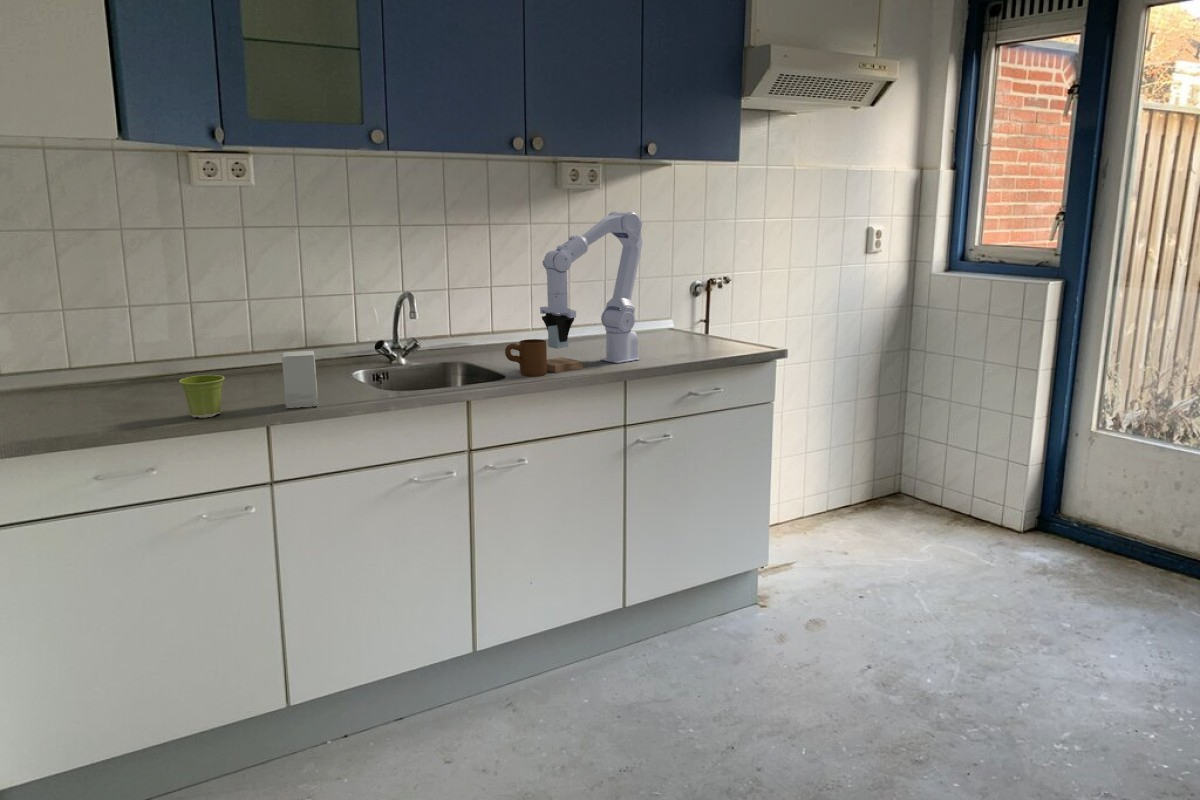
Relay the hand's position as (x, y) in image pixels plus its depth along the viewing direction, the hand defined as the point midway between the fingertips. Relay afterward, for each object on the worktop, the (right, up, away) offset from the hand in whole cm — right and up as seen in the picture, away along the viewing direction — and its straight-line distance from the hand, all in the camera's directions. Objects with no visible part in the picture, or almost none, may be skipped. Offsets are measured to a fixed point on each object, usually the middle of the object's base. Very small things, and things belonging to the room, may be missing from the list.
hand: (558, 340), depth 257 cm
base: (0, -8, +2) cm, 8 cm away
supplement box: (-59, -19, -43) cm, 76 cm away
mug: (-9, -10, -8) cm, 16 cm away
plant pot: (-78, -21, -53) cm, 97 cm away
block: (0, -2, 0) cm, 2 cm away
